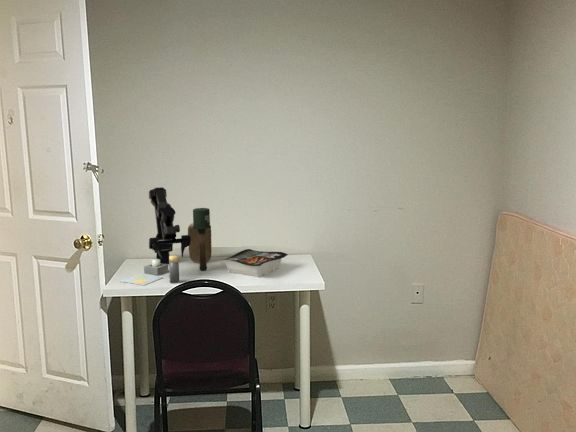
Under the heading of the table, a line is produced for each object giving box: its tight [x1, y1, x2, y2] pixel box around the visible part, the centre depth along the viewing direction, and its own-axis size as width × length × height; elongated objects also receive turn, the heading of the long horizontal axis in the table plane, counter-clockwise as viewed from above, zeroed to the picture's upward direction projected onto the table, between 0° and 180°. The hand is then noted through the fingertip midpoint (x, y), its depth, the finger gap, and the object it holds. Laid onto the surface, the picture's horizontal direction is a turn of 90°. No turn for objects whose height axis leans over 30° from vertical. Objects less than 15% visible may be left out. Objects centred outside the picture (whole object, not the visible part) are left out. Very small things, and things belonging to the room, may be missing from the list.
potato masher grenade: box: [192, 207, 212, 272], centre depth 287 cm, size 8×9×30 cm
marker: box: [168, 254, 181, 284], centre depth 269 cm, size 4×4×12 cm
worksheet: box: [119, 273, 163, 287], centre depth 274 cm, size 13×14×1 cm
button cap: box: [151, 258, 160, 267], centre depth 286 cm, size 4×4×5 cm
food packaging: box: [222, 248, 289, 278], centre depth 288 cm, size 25×8×23 cm
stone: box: [187, 222, 212, 263], centre depth 304 cm, size 12×7×20 cm, turn 99°
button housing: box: [143, 263, 169, 277], centre depth 286 cm, size 8×8×4 cm
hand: (172, 257), depth 272 cm, fingers open, 9 cm apart
